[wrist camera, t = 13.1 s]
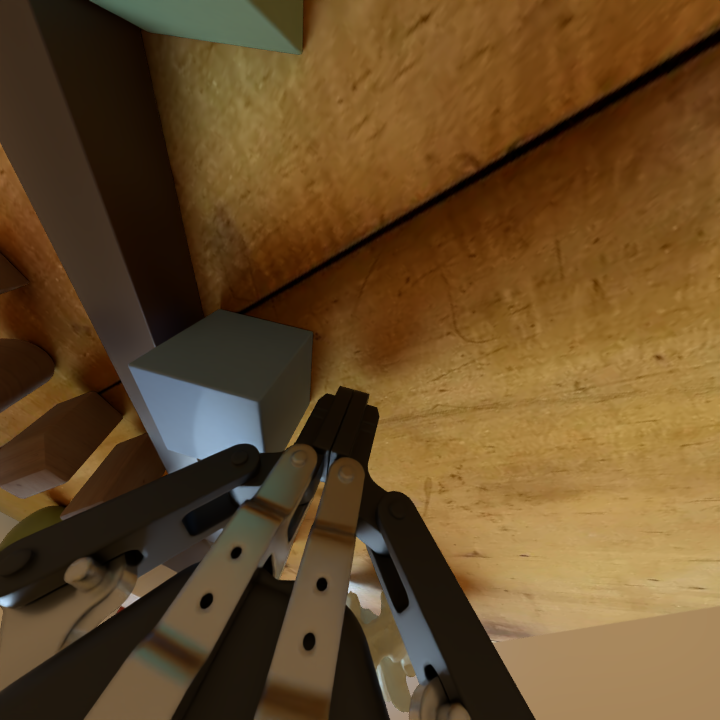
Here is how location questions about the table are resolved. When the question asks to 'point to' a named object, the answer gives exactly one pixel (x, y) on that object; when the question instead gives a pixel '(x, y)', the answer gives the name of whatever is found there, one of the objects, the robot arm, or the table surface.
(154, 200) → the straightedge
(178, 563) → the bowl
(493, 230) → the table surface
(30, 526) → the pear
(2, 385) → the wooden block set
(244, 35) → the green block
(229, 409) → the blue block
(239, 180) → the table surface
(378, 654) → the bone
